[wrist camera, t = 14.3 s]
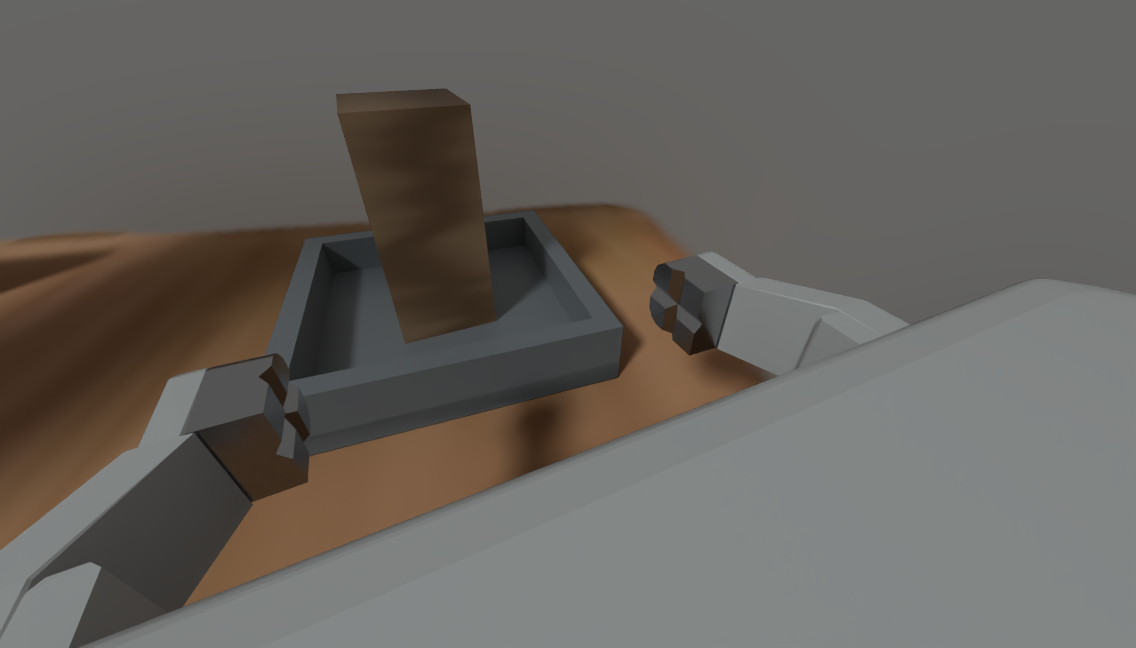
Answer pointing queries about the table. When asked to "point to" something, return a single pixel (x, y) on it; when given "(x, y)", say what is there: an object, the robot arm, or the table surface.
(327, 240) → the tray
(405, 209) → the walnut block
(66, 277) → the table surface
